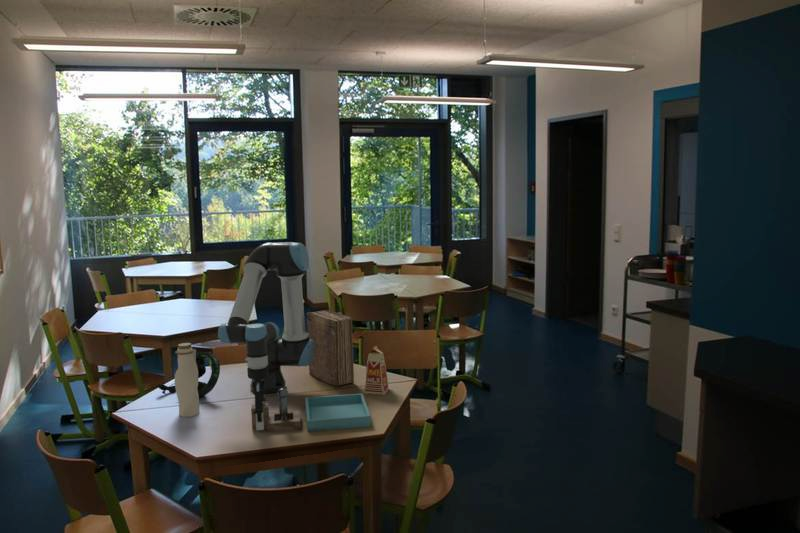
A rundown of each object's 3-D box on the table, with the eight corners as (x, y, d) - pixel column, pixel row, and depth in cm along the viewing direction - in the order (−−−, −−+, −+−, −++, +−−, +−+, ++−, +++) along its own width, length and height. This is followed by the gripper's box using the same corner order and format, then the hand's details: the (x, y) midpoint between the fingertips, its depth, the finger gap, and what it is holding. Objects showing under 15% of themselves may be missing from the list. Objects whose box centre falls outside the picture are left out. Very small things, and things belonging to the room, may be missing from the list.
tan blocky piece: (253, 421, 252) (252, 401, 251) (300, 417, 255) (299, 397, 254) (251, 433, 240) (250, 412, 239) (300, 429, 243) (299, 408, 242)
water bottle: (180, 408, 267) (176, 341, 263) (203, 407, 268) (199, 340, 264) (174, 418, 257) (169, 347, 253) (198, 416, 258) (193, 346, 254)
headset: (182, 411, 289) (226, 388, 276) (155, 406, 279) (199, 382, 266) (181, 373, 298) (224, 349, 285) (155, 367, 288) (198, 341, 275)
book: (354, 383, 295) (352, 317, 290) (336, 388, 289) (333, 320, 285) (326, 370, 315) (324, 308, 311) (309, 374, 310) (306, 311, 306)
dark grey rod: (278, 423, 250) (276, 387, 248) (289, 422, 250) (287, 386, 248) (278, 426, 246) (276, 390, 244) (289, 426, 246) (287, 389, 244)
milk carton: (384, 394, 279) (383, 348, 277) (363, 393, 281) (361, 347, 278) (389, 387, 288) (388, 342, 285) (368, 386, 290) (367, 342, 287)
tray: (305, 407, 266) (305, 397, 266) (362, 402, 270) (362, 393, 269) (307, 431, 241) (307, 421, 240) (370, 426, 244) (370, 415, 244)
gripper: (249, 358, 254) (252, 414, 257) (245, 376, 232) (248, 436, 235) (268, 357, 255) (271, 412, 258) (267, 374, 233) (270, 435, 236)
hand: (260, 424), depth 247 cm, fingers open, 10 cm apart
